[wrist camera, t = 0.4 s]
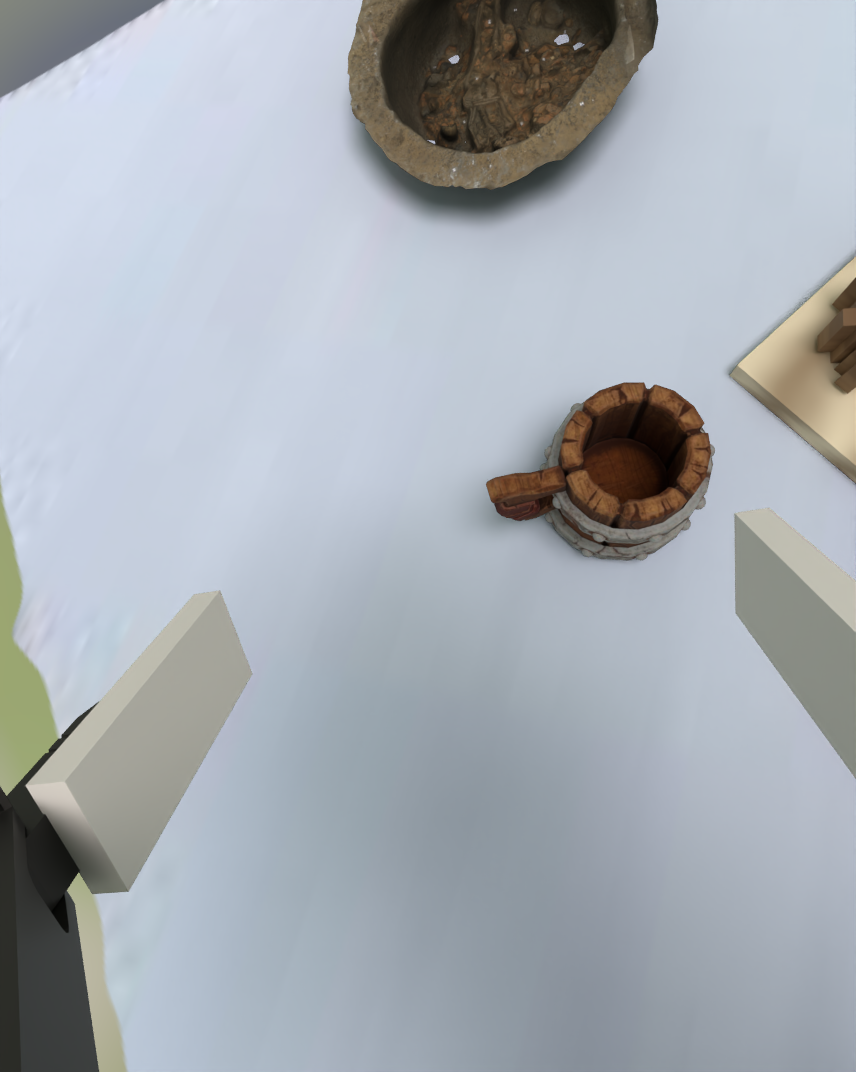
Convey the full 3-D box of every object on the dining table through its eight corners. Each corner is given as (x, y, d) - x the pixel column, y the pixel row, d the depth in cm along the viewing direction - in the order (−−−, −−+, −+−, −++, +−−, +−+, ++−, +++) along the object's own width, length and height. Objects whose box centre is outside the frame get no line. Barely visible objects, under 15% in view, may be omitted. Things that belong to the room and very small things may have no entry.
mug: (730, 536, 46) (759, 513, 32) (548, 589, 50) (504, 589, 36) (678, 395, 48) (684, 316, 34) (509, 458, 52) (452, 411, 38)
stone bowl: (617, -60, 54) (633, -186, 45) (656, 203, 52) (681, 125, 43) (355, 15, 58) (321, -87, 49) (382, 260, 56) (352, 201, 47)
